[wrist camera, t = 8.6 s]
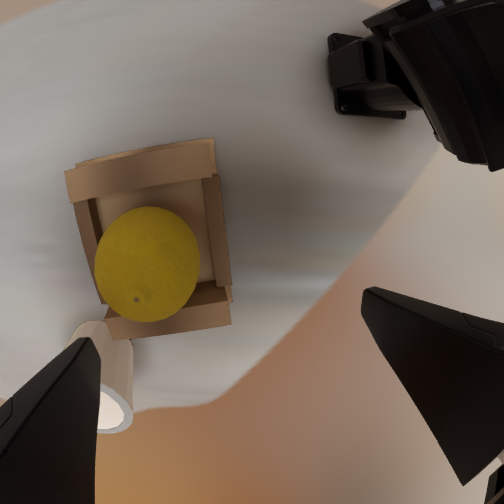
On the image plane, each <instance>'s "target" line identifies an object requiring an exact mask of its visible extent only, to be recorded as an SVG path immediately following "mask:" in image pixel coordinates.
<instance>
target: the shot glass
mask: <svg viewBox="0 0 504 504" xmlns="http://www.w3.org/2000/svg"><path fill="white" fill-rule="evenodd" d="M80 337H90V338H91V339H92V340H93V342H94V345H95V347H96V349H97V351H98V353H99V355H100V358H101V384H100V408H99V417H98V428H97V433H110V434H112V433H116V432H120V431H124V430H125V429H126V428H128V427H129V426H130V425H131V424H132V419H133V354H134V349H133V347H132V344H131V341H130V339H125V340H116V341H113V339H112V336H111V334H110V331H109V329H108V327H107V324H106V322H102V321H99V320H97V321H86V322H85V323H83V324H81V325H79V326H78V327H77V329H76V330H75V332H74V334H73V335H72V337H71V338H70V340H69V341H68V343H67V345H66V346H65V348H64V350H65V349H66V348H67V347H68V346H69V345H71V344H72V343H73V342H74V341H75V340H76V339H78V338H80Z"/></svg>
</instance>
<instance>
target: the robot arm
mask: <svg viewBox="0 0 504 504" xmlns="http://www.w3.org/2000/svg"><path fill="white" fill-rule="evenodd" d="M362 22H363V23H364V25H365V26H366V27H367V28H370V30H371V31H372V32H373V34H372V35H370V36H367V37H365V38H361V37H356V36H351V35H345V34H339V33H333V34H331V35H329V37H328V42H329V49H330V54H329V64H330V73H331V83H332V86H333V87H334V95H335V108H336V111H337V112H338V113H339V114H341V115H355V116H369V117H381V118H391V119H405V117H406V110H423V111H424V113H425V114H426V116H427V118H428V120H429V122H430V124H431V126H432V128H433V130H434V132H433V133H434V135H435V137H436V140H437V141H439V142H441V143H442V144H443V146H444V148H445V149H446V150H448V151H449V152H451V153H452V154H454V155H456V156H457V158H458V160H459V161H462V162H465V163H470V164H480V165H488V169H489V170H490V171H491V172H494V171H497V170H500V169H503V168H504V0H401V1H399V2H397V3H395V4H393V5H391V6H389V7H387V8H385V9H383V10H381V11H379V12H378V13H376V14H374V15H372V16H371V17H369V18H367V19H365V20H364V21H362ZM334 37H335V38H336V39H337V41H335V40H334ZM342 105H343V106H344V108H345V109H344V111H343V110H342V109H341V106H342ZM400 112H401V116H400ZM361 314H362V317H363V319H364V321H365V323H366V324H367V326H368V328H369V330H370V332H371V333H372V336H373V338H374V339H375V342H376V343H377V345H378V347H379V349H380V350H381V352H382V354H383V355H384V357H385V358H386V360H387V361H388V363H389V364H390V366H391V367H392V369H393V370H394V372H395V373H396V375H397V376H398V378H399V380H400V381H401V383H402V384H403V386H404V387H405V389H406V390H407V392H408V394H409V395H410V397H411V398H412V400H413V402H414V403H415V405H416V406H417V408H418V410H419V411H420V413H421V415H422V416H423V418H424V419H425V421H426V423H427V425H428V426H429V428H430V430H431V431H432V433H433V435H434V436H435V438H436V440H438V443H439V445H440V447H441V449H442V450H443V452H444V454H445V455H446V457H447V459H448V461H449V463H450V464H451V466H452V468H453V470H454V471H455V473H456V475H457V477H458V479H459V481H460V483H461V484H462V486H464V485H465V484H467V483H468V482H469V481H471V480H472V479H473V478H474V477H475V476H476V475H478V474H479V473H480V472H481V471H482V470H483V469H484V468H486V467H487V466H488V465H489V464H490V463H491V462H492V461H493V460H494V459H495V458H496V457H498V458H499V459H500V461H501V462H502V463H503V464H502V465H501V466H500V467H499V468H498V469H497V470H496V471H495V472H494V473H493V474H491V475H490V477H489V481H488V486H487V492H486V497H485V502H484V504H504V323H501V322H497V321H492V320H488V319H484V318H480V317H477V316H473V315H469V314H466V313H461V312H459V311H456V310H453V309H449V308H446V307H442V306H439V305H436V304H432V303H429V302H426V301H423V300H419V299H415V298H412V297H409V296H406V295H402V294H399V293H395V292H392V291H389V290H385V289H382V288H378V287H371V288H366V289H365V290H364V291H363V297H362V304H361ZM100 384H101V358H100V355H99V353H98V351H97V349H96V347H95V345H94V342H93V340H92V339H91V338H90V337H80V338H78V339H76V340H75V341H74V342H73V343H72V344H71V345H69V346H68V347H67V348H66V349H65V350H63V351H62V352H61V353H60V354H59V355H58V356H56V357H55V358H54V359H53V360H52V361H51V362H50V363H48V364H47V365H46V366H45V367H44V368H43V369H42V370H40V371H39V372H38V373H37V374H36V375H35V376H34V377H33V378H31V379H30V380H29V381H28V382H27V383H26V384H25V385H24V386H22V387H21V388H20V389H19V390H18V391H17V392H16V393H15V394H14V395H13V397H10V398H9V399H8V400H7V401H6V402H5V403H4V404H3V405H2V406H1V407H0V504H95V456H96V440H97V428H98V417H99V408H100Z"/></svg>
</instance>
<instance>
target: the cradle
mask: <svg viewBox="0 0 504 504" xmlns="http://www.w3.org/2000/svg"><path fill="white" fill-rule="evenodd" d="M64 172H65V178H66V184H67V189H68V195H69V200H70V203H73V205H74V210H75V214H76V219H77V223H78V227H79V231H80V235H81V239H82V243H83V247H84V250H85V254H86V257H87V261H88V264H89V267H90V271H91V274H92V277H93V280H94V283H95V286H96V289H97V292H98V295H99V298H100V301H101V304H107V303H106V302H105V300H104V299H103V297H102V295H101V293H100V291H99V290H98V286H97V282H96V279H95V255H96V251H97V248H98V245H99V241H100V239H101V237H102V236H103V234H104V232H105V231H106V229H107V228H108V226H109V225H110V224H111V223H112V222H113V221H114V220H116V219H117V218H118V217H119V216H120V215H122V214H124V213H126V212H128V211H130V210H132V209H135V208H140V207H146V206H150V207H160V208H163V209H166V210H169V211H171V212H173V213H174V214H176V215H177V216H179V217H180V218H181V219H182V220H183V221H184V222H185V223H186V224H187V225H188V226H189V227H190V229H191V231H192V233H193V234H194V236H195V238H196V240H197V244H198V248H199V252H200V273H199V276H198V280H197V283H196V286H195V289H194V291H193V293H192V294H191V296H190V297H189V299H188V301H187V302H186V304H185V305H184V306H182V307H181V308H180V309H179V310H178V311H177V312H176V313H175V314H173V315H171V316H169V317H167V318H166V319H162V320H158V321H155V322H138V321H133V320H130V319H128V318H125V317H123V316H121V315H120V314H118V313H117V312H115V311H114V310H113V309H112V308H111V307H110V306H109V308H108V310H107V313H106V316H105V318H104V319H105V322H106V324H107V327H108V329H109V331H110V334H111V336H112V339H113V341H116V340H125V339H134V338H143V337H151V336H159V335H166V334H174V333H181V332H188V331H194V330H201V329H207V328H213V327H219V326H225V325H231V324H232V323H231V317H230V310H229V303H231V302H233V301H232V294H231V286H230V285H232V279H231V271H230V263H229V255H228V247H227V239H226V230H225V222H224V213H223V204H222V195H221V186H220V176H219V175H218V174H217V168H216V159H215V149H214V139H213V138H208V139H200V140H192V141H185V142H178V143H172V144H166V145H160V146H154V147H149V148H143V149H138V150H133V151H128V152H124V153H119V154H114V155H110V156H106V157H101V158H97V159H93V160H89V161H85V162H82V163H78V164H76V168H74V169H71V170H68V171H64Z"/></svg>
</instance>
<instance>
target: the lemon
mask: <svg viewBox="0 0 504 504" xmlns="http://www.w3.org/2000/svg"><path fill="white" fill-rule="evenodd" d="M199 273H200V252H199V248H198V244H197V240H196V238H195V236H194V234H193V233H192V231H191V229H190V227H189V226H188V225H187V224H186V223H185V222H184V221H183V220H182V219H181V218H180V217H179V216H177V215H176V214H174V213H173V212H171V211H169V210H166V209H163V208H160V207H150V206H146V207H140V208H135V209H132V210H130V211H128V212H126V213H124V214H122V215H120V216H119V217H118V218H117V219H116V220H114V221H113V222H112V223H111V224H110V225H109V226H108V228H107V229H106V231H105V232H104V234H103V236H102V237H101V239H100V241H99V245H98V248H97V251H96V255H95V279H96V282H97V286H98V290H99V291H100V293H101V295H102V297H103V299H104V300H105V302H106V303H107V304H108V305H109V306H110V307H111V308H112V309H113V310H114V311H115V312H117V313H118V314H120V315H121V316H123V317H125V318H128V319H130V320H133V321H138V322H155V321H158V320H162V319H166V318H167V317H169V316H171V315H173V314H175V313H176V312H177V311H178V310H179V309H180V308H181V307H182V306H184V305H185V304H186V302H187V301H188V299H189V297H190V296H191V294H192V293H193V291H194V289H195V286H196V283H197V280H198V276H199Z"/></svg>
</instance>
